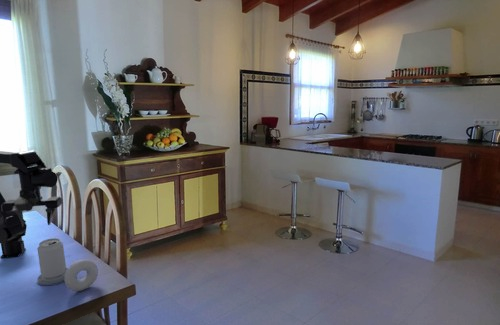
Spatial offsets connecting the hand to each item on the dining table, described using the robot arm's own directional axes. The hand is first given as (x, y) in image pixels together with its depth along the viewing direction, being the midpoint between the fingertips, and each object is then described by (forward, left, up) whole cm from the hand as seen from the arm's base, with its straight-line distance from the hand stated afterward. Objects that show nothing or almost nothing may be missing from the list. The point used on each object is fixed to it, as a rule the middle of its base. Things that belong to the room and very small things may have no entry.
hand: (35, 225), depth 129 cm
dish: (+11, -17, -13) cm, 24 cm away
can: (+11, -17, -12) cm, 23 cm away
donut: (+23, -27, -13) cm, 37 cm away
